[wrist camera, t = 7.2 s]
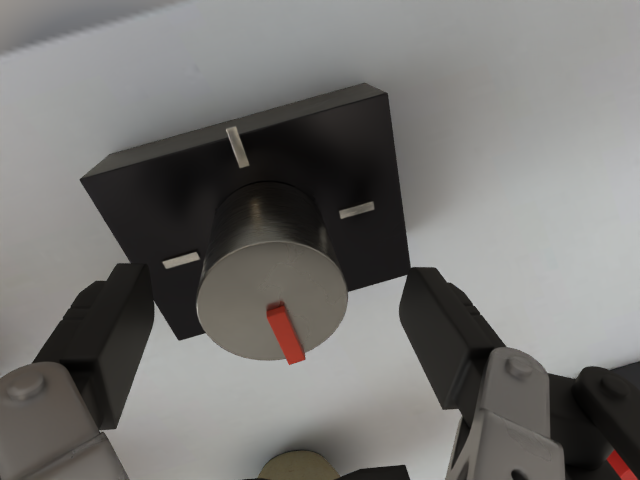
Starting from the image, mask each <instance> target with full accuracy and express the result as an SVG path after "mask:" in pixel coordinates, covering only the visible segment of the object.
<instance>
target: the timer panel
mask: <svg viewBox="0 0 640 480" xmlns="http://www.w3.org/2000/svg"><path fill="white" fill-rule="evenodd" d="M80 181H81V183H82V185H83V186H84V188H85V189H86V191H87V193H88V194H89V196H90V198H91V199H92V201H93V202H94V204H95V206H96V207H97V209H98V211H99V212H100V214H101V215H102V217H103V219H104V220H105V222H106V224H107V225H108V227H109V228H110V230H111V232H112V233H113V235H114V237H115V238H116V240H117V241H118V243H119V245H120V246H121V248H122V250H123V251H124V253H125V254H126V256H127V258H128V259H129V261H130V263H133V264H147V265H148V267H149V271H150V278H151V286H152V293H153V300H154V301H155V303H156V305H157V306H158V308H159V310H160V311H161V313H162V314H163V316H164V318H165V319H166V321H167V323H168V324H169V326H170V327H171V329H172V331H173V332H174V334H175V336H176V337H177V339H178V340H179V341H180V340H183V339H187V338H190V337H194V336H197V335H201V334H204V333H206V332H205V331H204V330H203V328H202V326H201V324H200V322H199V319H198V315H197V310H196V296H197V292H198V287H199V283H200V278H201V274H202V269H203V265H204V260H205V256H206V251H207V247H208V242H209V238H210V233H211V228H212V224H213V220H214V217H215V214H216V212H217V210H218V208H219V207H220V205H221V204H222V203H223V202H224V201H225V200H226V199H227V198H228V197H229V196H230V195H231V194H233V193H234V192H235V191H237V190H239V189H241V188H243V187H245V186H248V185H251V184H255V183H261V182H277V183H283V184H286V185H290V186H292V187H295V188H297V189H298V190H300V191H302V192H303V193H305V194H306V195H307V196H308V197H309V198H310V199H311V200H312V201H313V202H314V203H315V204H316V206H317V207H318V209H319V211H320V213H321V216H322V218H323V221H324V224H325V226H326V229H327V232H328V235H329V237H330V240H331V243H332V246H333V248H334V251H335V254H336V257H337V259H338V262H339V265H340V268H341V270H342V273H343V276H344V279H345V281H346V285H347V290H348V292H349V291H353V290H356V289H360V288H363V287H367V286H370V285H373V284H377V283H380V282H384V281H387V280H391V279H394V278H398V277H401V276H405V275H408V272H409V270H410V269H411V266H410V259H409V251H408V243H407V236H406V228H405V221H404V213H403V205H402V198H401V190H400V183H399V175H398V168H397V160H396V152H395V145H394V137H393V130H392V122H391V115H390V107H389V99H388V93H387V92H384V91H382V90H380V89H378V88H375V87H373V86H371V85H369V84H367V83H362V84H359V85H355V86H352V87H348V88H344V89H341V90H337V91H334V92H330V93H327V94H323V95H319V96H316V97H312V98H309V99H305V100H302V101H298V102H294V103H291V104H287V105H284V106H280V107H277V108H273V109H270V110H266V111H262V112H259V113H255V114H252V115H248V116H245V117H241V118H237V119H234V120H230V121H227V122H223V123H220V124H216V125H213V126H209V127H205V128H202V129H198V130H195V131H191V132H188V133H184V134H180V135H177V136H173V137H170V138H166V139H163V140H159V141H155V142H152V143H148V144H145V145H141V146H138V147H134V148H131V149H127V150H123V151H120V152H116V153H113V154H109V155H108V156H107V157H106V158H105V159H103V160H102V161H101V162H100V163H99V164H97V165H96V166H95V167H94V168H93V169H91V170H90V171H89V172H88V173H87V174H85V175H84V176H83V177H82V178H81V179H80Z"/></svg>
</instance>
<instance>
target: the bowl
mask: <svg viewBox="0 0 640 480" xmlns="http://www.w3.org/2000/svg"><path fill="white" fill-rule="evenodd" d="M339 477H340V475H339V474H338V473H337V472H336V470H335V469H334V468H333V467H332V466H331V465H330V464H329V462H328V461H327V460H326V459H325V458H324V457H323V456H321V455H319V454H317V453H315V452H311V451H292V452H287V453H284V454H281V455H279V456H277V457H275V458H273V459H272V460H270V461H269V462H268V463H267V464H266V465H265V466H264V468H263V469H262V471H261V472H260V474H259V476H258V477H257V478H264V479H270V480H334V479H337V478H339Z"/></svg>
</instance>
